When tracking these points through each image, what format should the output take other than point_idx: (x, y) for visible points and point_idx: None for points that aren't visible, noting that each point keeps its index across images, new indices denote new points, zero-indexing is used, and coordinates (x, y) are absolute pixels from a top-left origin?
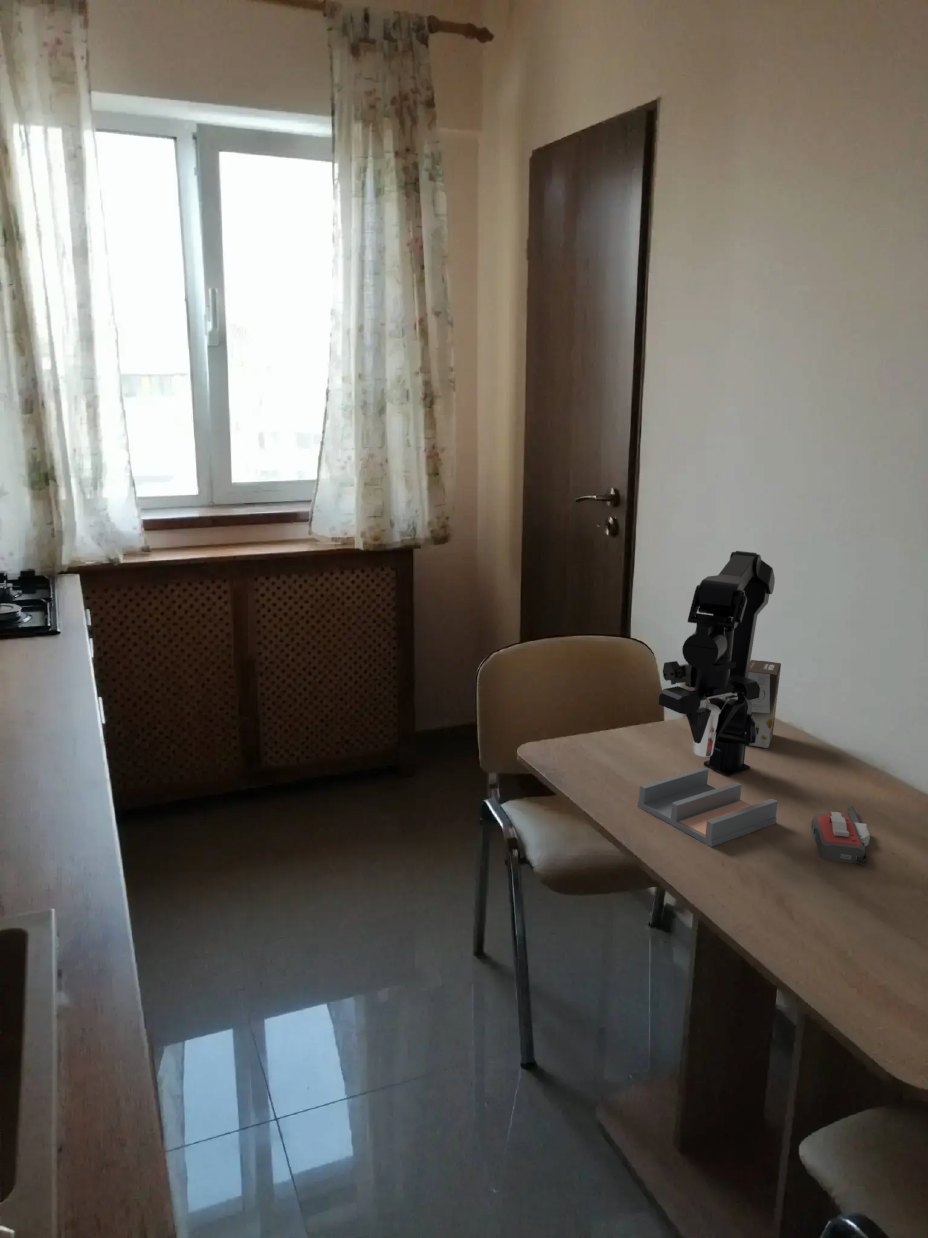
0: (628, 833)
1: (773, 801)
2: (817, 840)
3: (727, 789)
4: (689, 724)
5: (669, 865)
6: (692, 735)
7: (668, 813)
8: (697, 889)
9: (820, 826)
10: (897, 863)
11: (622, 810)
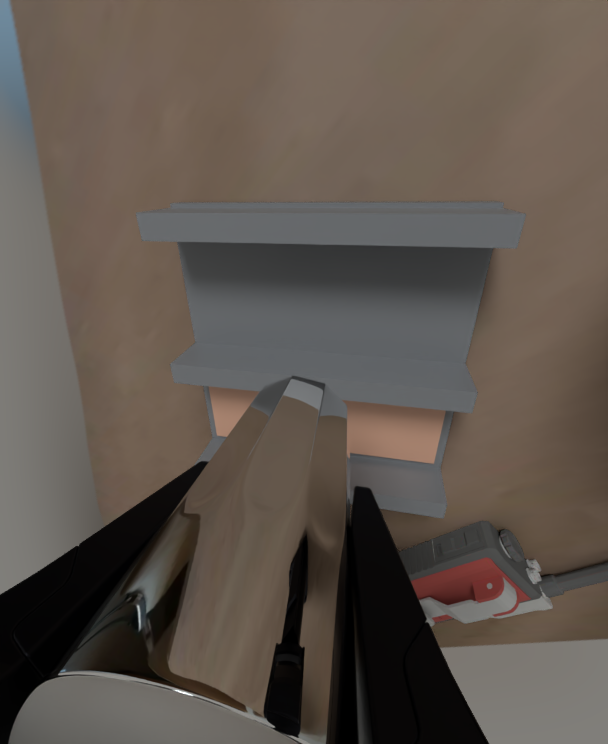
0: (87, 308)
1: (431, 513)
2: (413, 555)
3: (394, 404)
4: (80, 544)
5: (111, 433)
6: (167, 484)
7: (208, 318)
8: (118, 490)
9: (439, 573)
10: (461, 628)
11: (125, 196)
